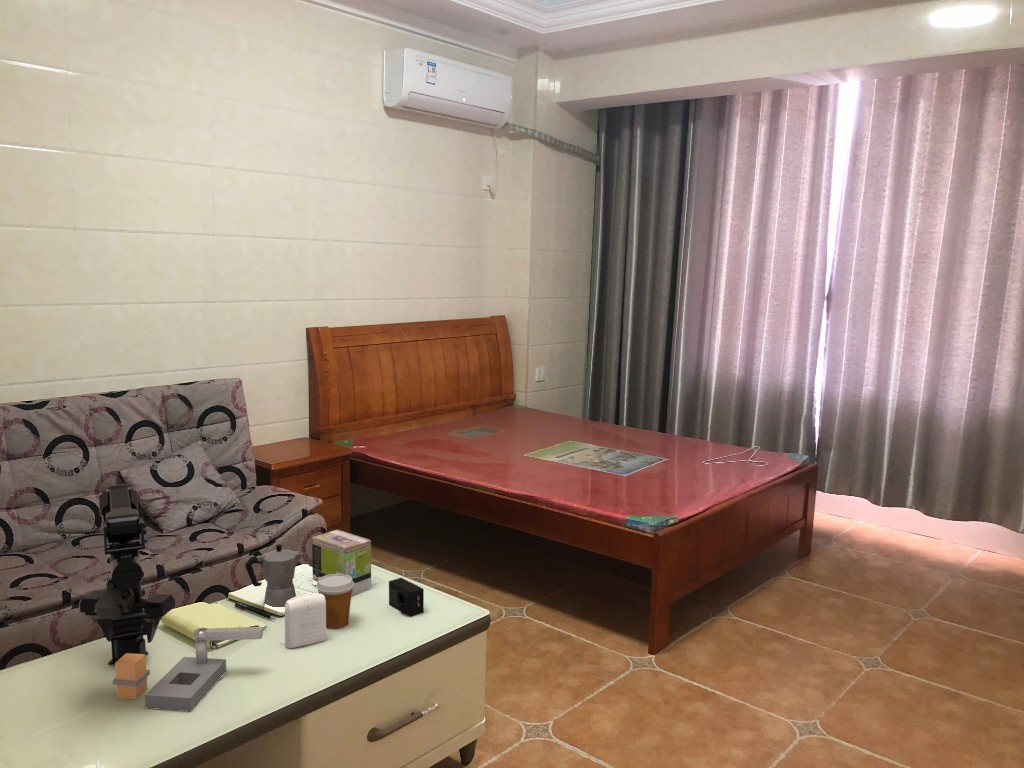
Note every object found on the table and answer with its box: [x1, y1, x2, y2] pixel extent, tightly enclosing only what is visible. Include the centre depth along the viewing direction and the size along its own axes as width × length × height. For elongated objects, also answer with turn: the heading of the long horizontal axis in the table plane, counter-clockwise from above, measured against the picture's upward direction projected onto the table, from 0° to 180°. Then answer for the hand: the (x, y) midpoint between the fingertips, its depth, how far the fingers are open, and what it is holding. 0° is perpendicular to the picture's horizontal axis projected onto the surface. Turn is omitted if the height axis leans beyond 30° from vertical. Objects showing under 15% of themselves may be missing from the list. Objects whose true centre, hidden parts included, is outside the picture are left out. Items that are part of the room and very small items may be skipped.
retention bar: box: [193, 626, 264, 642], centre depth 190 cm, size 3×15×2 cm, turn 96°
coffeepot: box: [244, 544, 305, 607], centre depth 224 cm, size 15×9×18 cm, turn 117°
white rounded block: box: [284, 592, 327, 649], centre depth 206 cm, size 10×4×12 cm, turn 123°
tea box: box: [311, 529, 372, 597], centre depth 240 cm, size 15×10×15 cm, turn 51°
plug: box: [111, 653, 151, 700], centre depth 181 cm, size 5×5×8 cm
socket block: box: [144, 640, 227, 712], centre depth 183 cm, size 10×17×8 cm, turn 174°
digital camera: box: [388, 577, 425, 618], centre depth 226 cm, size 10×5×7 cm, turn 42°
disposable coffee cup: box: [315, 574, 354, 630], centre depth 216 cm, size 10×10×12 cm
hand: (129, 640), depth 180 cm, fingers open, 9 cm apart
